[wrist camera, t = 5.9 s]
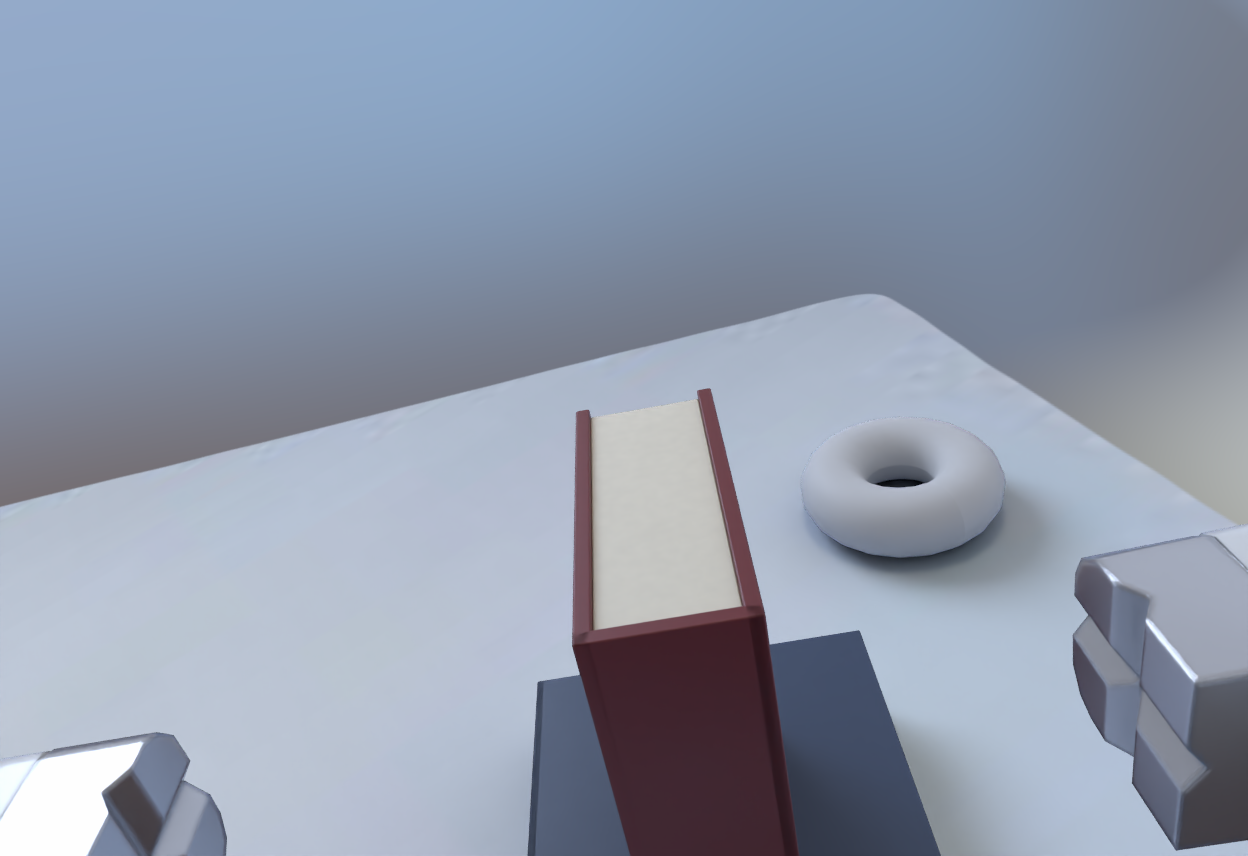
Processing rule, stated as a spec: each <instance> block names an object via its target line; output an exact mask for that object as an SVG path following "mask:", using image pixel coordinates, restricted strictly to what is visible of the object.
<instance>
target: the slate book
mask: <svg viewBox="0 0 1248 856" xmlns="http://www.w3.org/2000/svg"><path fill="white" fill-rule="evenodd" d="M770 652H771V659H772V666H773V673H774V680H775V687H776V694H777V701H778V708H779V715H780V722H781V729H782V737H783V744H784V751H785V758H786V765H787V772H788V779H789V786H790V793H791V800H792V807H793V814H794V821H795V828H796V836H797V843H798V850H799V856H941V855H940V852H939V849H938V847H937V844H936V841H935V838H934V836H933V833H932V830H931V827H930V824H929V822H928V819H927V816H926V813H925V811H924V808H923V805H922V802H921V800H920V797H919V794H918V791H917V788H916V786H915V783H914V780H913V777H912V775H911V772H910V769H909V766H908V764H907V761H906V758H905V755H904V752H903V750H902V747H901V744H900V741H899V739H898V736H897V733H896V730H895V727H894V725H893V722H892V719H891V716H890V714H889V711H888V708H887V705H886V703H885V700H884V697H883V694H882V691H881V689H880V686H879V683H878V680H877V678H876V675H875V672H874V669H873V667H872V664H871V661H870V658H869V655H868V653H867V650H866V647H865V644H864V642H863V639H862V636H861V633H860V631H853V632H846V633H840V634H834V635H828V636H821V637H815V638H809V639H803V640H796V641H790V642H784V643H778V644H771V645H770ZM528 856H630V853H629V850H628V846H627V843H626V839H625V835H624V832H623V828H622V824H621V821H620V817H619V814H618V810H617V806H616V803H615V799H614V795H613V792H612V788H611V785H610V781H609V777H608V774H607V770H606V767H605V763H604V759H603V756H602V752H601V748H600V745H599V741H598V738H597V734H596V730H595V727H594V723H593V719H592V716H591V712H590V709H589V705H588V701H587V698H586V694H585V690H584V687H583V683H582V680H581V676H580V675H578V676H571V677H565V678H559V679H553V680H546V681H540V682H538V686H537V703H536V721H535V738H534V755H533V772H532V789H531V807H530V824H529V841H528Z"/></svg>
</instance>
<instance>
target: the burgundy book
mask: <svg viewBox="0 0 1248 856" xmlns="http://www.w3.org/2000/svg"><path fill="white" fill-rule="evenodd" d="M697 394H698V399H695V400H689V401H684V402H678V403H672V404H667V405H661V406H655V407H650V408H644V409H638V410H632V411H627V412H621V413H615V414H610V415H604V416H598V417H593V418H591V416H590V411H589V410H584V411H578V412H576V449H575V510H574V571H573V632H572V647H573V651H574V654H575V658H576V661H577V665H578V669H579V672H580V676H581V680H582V683H583V687H584V690H585V694H586V698H587V701H588V705H589V709H590V712H591V716H592V719H593V723H594V727H595V730H596V734H597V738H598V741H599V745H600V748H601V752H602V756H603V759H604V763H605V767H606V770H607V774H608V777H609V781H610V785H611V788H612V792H613V795H614V799H615V803H616V806H617V810H618V814H619V817H620V821H621V824H622V828H623V832H624V835H625V839H626V843H627V846H628V850H629V853H630V856H799V850H798V843H797V836H796V828H795V821H794V814H793V807H792V800H791V793H790V786H789V779H788V772H787V765H786V758H785V751H784V744H783V737H782V729H781V722H780V715H779V708H778V701H777V694H776V687H775V680H774V673H773V666H772V659H771V652H770V645H769V638H768V630H767V623H766V616H765V612H764V607H763V603H762V599H761V595H760V591H759V587H758V583H757V579H756V574H755V570H754V566H753V562H752V558H751V554H750V550H749V545H748V541H747V537H746V533H745V529H744V525H743V521H742V517H741V512H740V508H739V504H738V500H737V496H736V492H735V488H734V483H733V479H732V475H731V471H730V467H729V463H728V459H727V455H726V450H725V446H724V442H723V438H722V434H721V430H720V426H719V422H718V417H717V413H716V409H715V405H714V401H713V397H712V393H711V389H710V388H708V389H703V390H698V391H697Z"/></svg>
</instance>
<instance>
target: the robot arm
mask: <svg viewBox="0 0 1248 856" xmlns="http://www.w3.org/2000/svg"><path fill="white" fill-rule="evenodd" d="M1074 595H1075V597H1076V598H1077V599H1078V601H1079V602H1080V604H1081V605H1082V606H1083V608H1084V609H1085V611H1086V612H1087V613H1088V616H1087V618H1086V619H1085V620H1084V621H1083V623H1082V624H1081V625H1080V626H1079V628H1078V629H1077V630H1076V631H1075V633H1074V634H1073V666H1074V670H1075V674H1076V678H1077V682H1078V686H1079V691H1080V695H1081V697H1082V699H1083V701H1084V704H1085V706H1086V708H1087V710H1088V713H1089V715H1090V717H1091V719H1092V721H1093V722H1094V724H1095V725H1096V727H1097V729H1098V730H1099V732H1100V733H1101V735H1102V737H1103V738H1104V740H1105V741H1106V742H1108V743H1110V744H1111V745H1113V746H1115V747H1117V748H1119V749H1121V750H1122V751H1124V752H1126V753H1128V754H1130V755H1132V756H1133V757H1134V763H1133V777H1132V784H1133V785H1134V787H1135V788H1136V790H1137V791H1138V793H1139V795H1140V796H1141V798H1142V799H1143V801H1144V802H1145V804H1146V805H1147V807H1148V808H1149V810H1150V811H1151V813H1152V814H1153V816H1154V818H1155V819H1156V821H1157V822H1158V824H1159V825H1160V827H1161V828H1162V830H1163V831H1164V833H1165V834H1166V836H1167V837H1168V839H1169V841H1170V842H1171V844H1172V845H1173V847H1174V848H1175V850H1183V849H1190V848H1197V847H1203V846H1210V845H1217V844H1224V843H1231V842H1238V841H1245V840H1248V524H1244V525H1239V526H1234V527H1229V528H1224V529H1220V530H1215V531H1210V532H1205V533H1201V534H1200V535H1199V536H1191V537H1186V538H1181V539H1176V540H1170V541H1165V542H1160V543H1155V544H1150V545H1145V546H1140V547H1135V548H1130V549H1124V550H1119V551H1114V552H1109V553H1104V554H1099V555H1094V556H1089V557H1084V558H1081V560H1080V563H1079V565H1078V568H1077V570H1076V574H1075V593H1074ZM189 763H190V759H189V758H188V756H187V755H186V753H185V752H184V750H183V749H182V747H181V746H180V744H179V743H178V741H177V740H176V738H175V737H174V735H170V734H164V733H158V732H156V733H150V734H143V735H137V736H131V737H125V738H119V739H113V740H107V741H101V742H95V743H89V744H82V745H76V746H70V747H64V748H58V749H54V750H52V751H48V752H41V753H34V754H28V755H22V756H16V757H10V758H4V759H0V856H226V844H227V836H226V832H225V828H224V824H223V821H222V817H221V813H220V811H219V809H218V808H217V806H216V804H215V802H214V801H213V799H212V797H211V795H210V794H208V793H207V792H205V791H203V790H201V789H199V788H197V787H195V786H194V785H192V784H190V783H188V782H186V781H184V778H185V775H186V772H187V769H188V766H189Z"/></svg>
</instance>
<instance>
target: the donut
mask: <svg viewBox="0 0 1248 856" xmlns="http://www.w3.org/2000/svg"><path fill="white" fill-rule="evenodd" d="M895 479H910V480H918V481H922V482H925V483H924V484H921V485H917V486H913V487H902V488H894V487H882V486H879V485H875V484H876V483H880V482H883V481H886V480H895ZM1005 483H1006V481H1005V476H1004V472H1003V470H1002V468H1001V465H1000V463H999V461H998V459H997V456H996V455H995V453H994V452H993V450H992V449H991V448H990V447H988V446H987V445H986V444H985V443H984V442H983V441H981V440H980V439H979V438H978V437H977V436H975V435H974V434H972V433H971V432H969V431H966V430H964V429H962V428H960V427H957V426H955V425H953V424H951V423H947V422H942V421H938V420H933V419H928V418H917V417H892V418H883V419H874V420H870V421H867V422H863V423H860V424H856V425H852V426H850V427H848V428H846V429H844V430H842V431H840V432H838V433H836V434H834V435H832V436H831V437H829V438H828V439H827V440H826V441H824V442H823V443H822V444H821V445H820V446H819V447H818V448H817V449H816V450H815V451H814V452H813V453H812V454H811V456H810V458H809V460H808V462H807V464H806V467H805V469H804V471H803V473H802V476H801V492H802V500H803V504H804V507H805V510H806V511H807V513H808V514H809V515H810V517H811V518H812V520H813V521H814V522H815V524H816V525H817V526H818V528H819V529H820V530H821V531H822V532H823V533H825V534H826V535H828V536H830V537H831V538H833V539H834V540H836V541H837V542H839V543H840V544H842V545H844V546H847V547H850V548H853V549H856V550H859V551H862V552H865V553H868V554H871V555H879V556H888V557H898V558H904V557H916V556H927V555H932V554H936V553H939V552H942V551H946V550H949V549H952V548H956V547H958V546H960V545H962V544H964V543H966V542H967V541H969V540H970V539H972V538H974V537H975V536H977V535H979V534H980V533H982V532H983V531H984V530H985V529H986V527H987V526H988V525H989V524H990V522H991V521H992V520H993V519H994V517H995V516H996V515H997V513H998V512H999V511H1000V509H1001V506H1002V502H1003V496H1004V490H1005Z"/></svg>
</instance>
